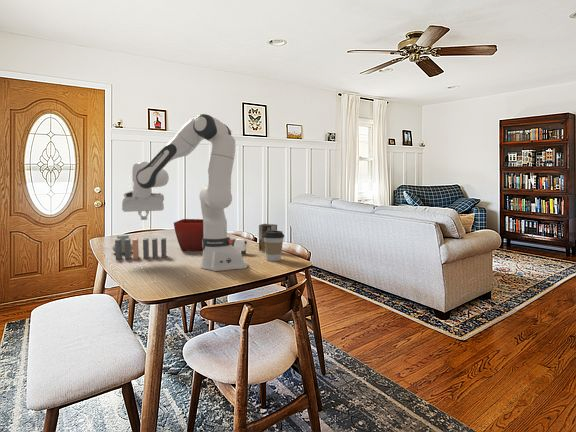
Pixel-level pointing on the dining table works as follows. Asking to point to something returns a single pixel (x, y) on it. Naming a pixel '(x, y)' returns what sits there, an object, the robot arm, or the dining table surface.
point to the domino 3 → (135, 248)
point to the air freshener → (123, 242)
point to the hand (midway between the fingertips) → (144, 219)
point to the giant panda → (239, 245)
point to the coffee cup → (273, 244)
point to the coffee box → (262, 231)
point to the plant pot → (189, 233)
